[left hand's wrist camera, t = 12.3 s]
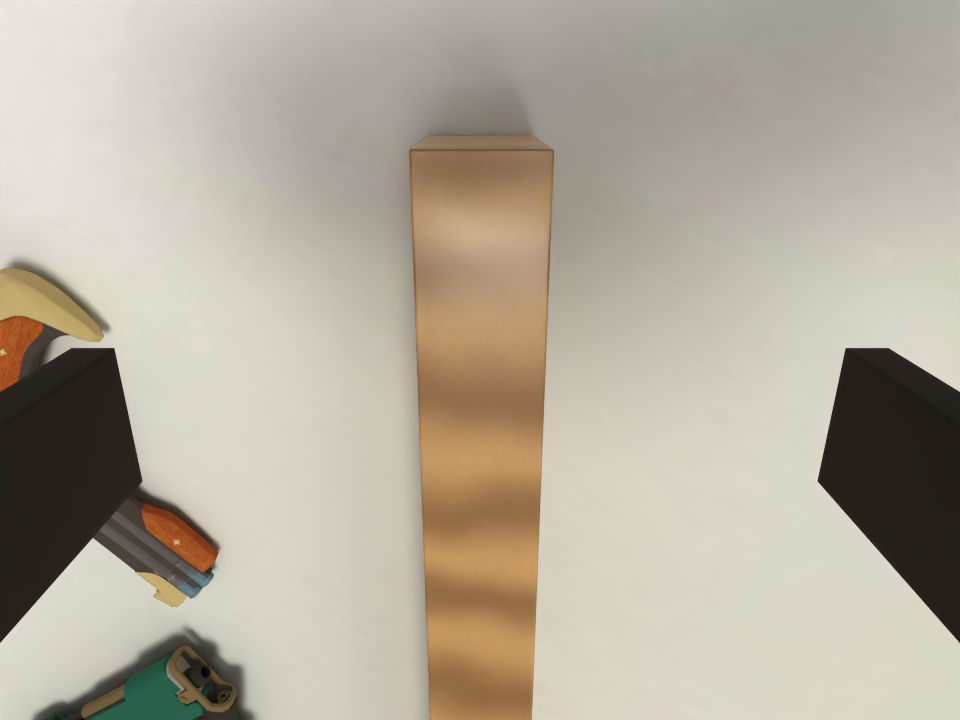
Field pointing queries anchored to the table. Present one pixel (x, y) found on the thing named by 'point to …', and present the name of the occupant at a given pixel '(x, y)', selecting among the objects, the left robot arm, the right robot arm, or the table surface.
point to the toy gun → (134, 526)
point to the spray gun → (165, 694)
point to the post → (481, 411)
